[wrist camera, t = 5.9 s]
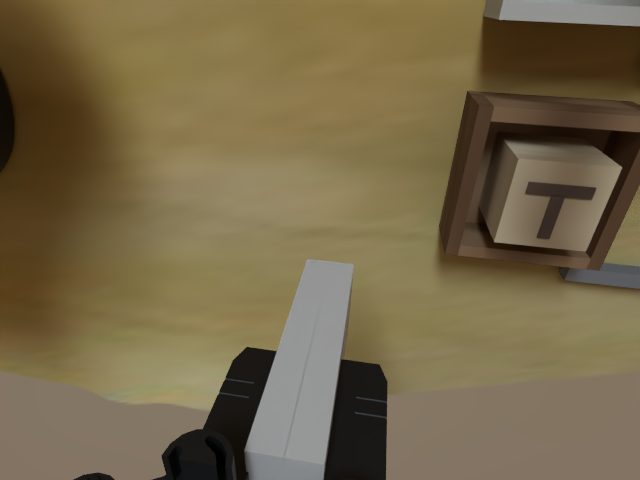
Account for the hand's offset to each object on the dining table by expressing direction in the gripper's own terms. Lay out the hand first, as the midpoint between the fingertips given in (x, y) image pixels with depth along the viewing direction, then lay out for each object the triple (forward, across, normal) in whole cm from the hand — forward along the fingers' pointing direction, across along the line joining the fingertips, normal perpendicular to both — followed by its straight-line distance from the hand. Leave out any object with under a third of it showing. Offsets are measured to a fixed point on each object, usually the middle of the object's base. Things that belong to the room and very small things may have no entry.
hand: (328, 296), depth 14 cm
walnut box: (+14, +10, 0) cm, 17 cm away
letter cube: (+13, +10, 0) cm, 17 cm away
